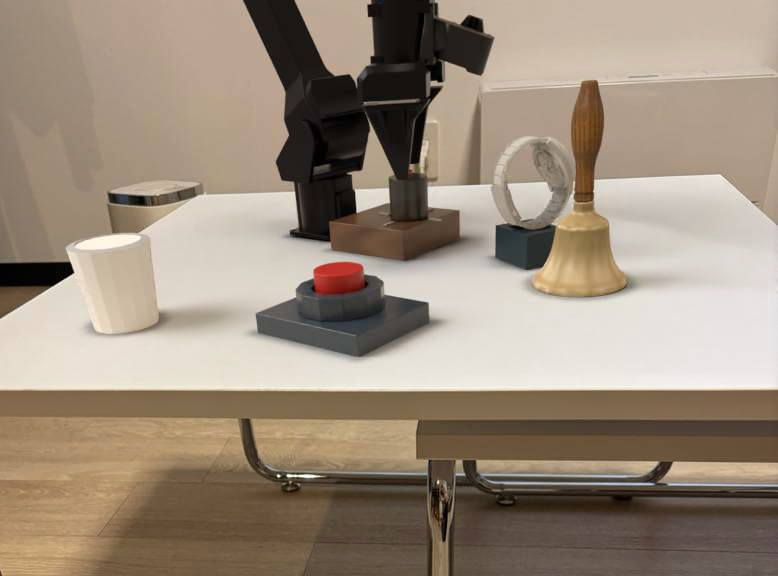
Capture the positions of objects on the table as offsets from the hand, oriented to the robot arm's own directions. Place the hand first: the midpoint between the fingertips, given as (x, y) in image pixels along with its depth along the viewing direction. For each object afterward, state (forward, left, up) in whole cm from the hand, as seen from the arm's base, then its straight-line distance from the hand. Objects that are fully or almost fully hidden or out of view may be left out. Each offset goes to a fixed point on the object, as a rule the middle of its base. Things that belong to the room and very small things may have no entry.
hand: (408, 171), depth 84 cm
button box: (+11, -24, -8) cm, 27 cm away
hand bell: (+22, -4, -8) cm, 23 cm away
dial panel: (-2, 0, -8) cm, 8 cm away
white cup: (-7, -32, -8) cm, 34 cm away
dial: (0, 0, -4) cm, 4 cm away
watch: (+14, +1, -8) cm, 16 cm away
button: (+11, -24, -4) cm, 26 cm away
